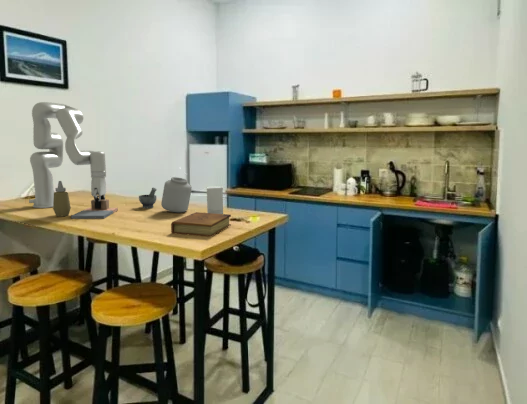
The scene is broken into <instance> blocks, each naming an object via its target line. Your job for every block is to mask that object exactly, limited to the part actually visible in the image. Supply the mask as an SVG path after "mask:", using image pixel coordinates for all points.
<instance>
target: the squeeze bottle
mask: <svg viewBox="0 0 527 404" xmlns="http://www.w3.org/2000/svg"><path fill="white" fill-rule="evenodd" d="M71 208H72V207H71V202H70V197H69V193H68V192H67V188H66V187H64V185H63V182H62V180H58V184H57V187H55V190H54V200H53V207H52V210H53V212H54V214H55V216H56V217H67V216H69V215H70V212H71Z"/></svg>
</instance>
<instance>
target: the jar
mask: <svg viewBox="0 0 527 404" xmlns="http://www.w3.org/2000/svg"><path fill="white" fill-rule="evenodd" d="M179 169H180V170H181V167H179ZM185 175H188V173H185ZM188 181H189V180H188V179H186V178H183V177H176V176H175V177H174V176H172V177H170V179H169V180H168V179H167V180H166V181H165V182H164V186H163V191H162V198H161V205H160V206H161V207H162V208H163V210H165V211H168V212H170V213H177V214H178V213H180V214H181V213H185V212H187V211H188V208H189V204H190V200H191V199H190V198H191V194H192V190H193V189H192V185H191V184H190V183H189V182H188Z"/></svg>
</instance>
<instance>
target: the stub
mask: <svg viewBox="0 0 527 404" xmlns="http://www.w3.org/2000/svg"><path fill="white" fill-rule="evenodd" d="M100 201H101V209H95V201H94V199H91V200H90V206H91V207H87V208H85V209H82V211H84V210H86V211H89V210H91V211H94V210H96V211H99V210H101V211H104V210H106V211H108V210H110V211H113V214H114V213H115V212H117V211H118V207H110V200H109V199H105V200H104V199H100Z"/></svg>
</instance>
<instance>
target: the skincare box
mask: <svg viewBox="0 0 527 404" xmlns="http://www.w3.org/2000/svg"><path fill="white" fill-rule="evenodd" d="M223 191H224V189H223V186H222V185H221V186H220V185H219V186H217V185H216V186H207V187H206V202H207V203H206V204H207V205H206V208H207V212H206V213H214V214H224V196H223V195H224V194H223Z"/></svg>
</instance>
